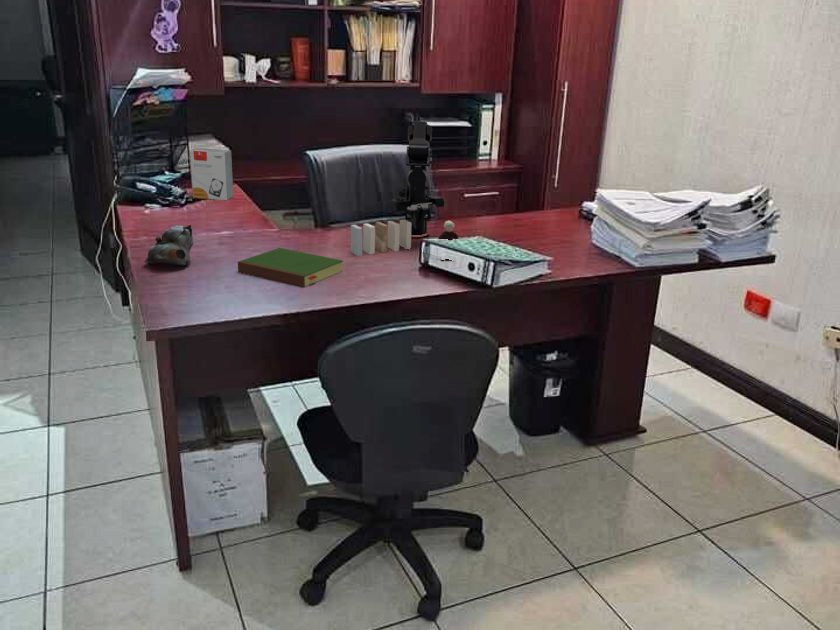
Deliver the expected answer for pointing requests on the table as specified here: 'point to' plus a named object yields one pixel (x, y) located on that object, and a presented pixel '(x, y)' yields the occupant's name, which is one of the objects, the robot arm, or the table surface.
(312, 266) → the hardcover book
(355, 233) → the domino
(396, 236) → the domino
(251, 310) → the table surface
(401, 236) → the domino
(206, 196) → the hard drive box
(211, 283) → the table surface
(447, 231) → the grandmother figurine
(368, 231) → the domino
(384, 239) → the domino
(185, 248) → the grey lumpy figure
